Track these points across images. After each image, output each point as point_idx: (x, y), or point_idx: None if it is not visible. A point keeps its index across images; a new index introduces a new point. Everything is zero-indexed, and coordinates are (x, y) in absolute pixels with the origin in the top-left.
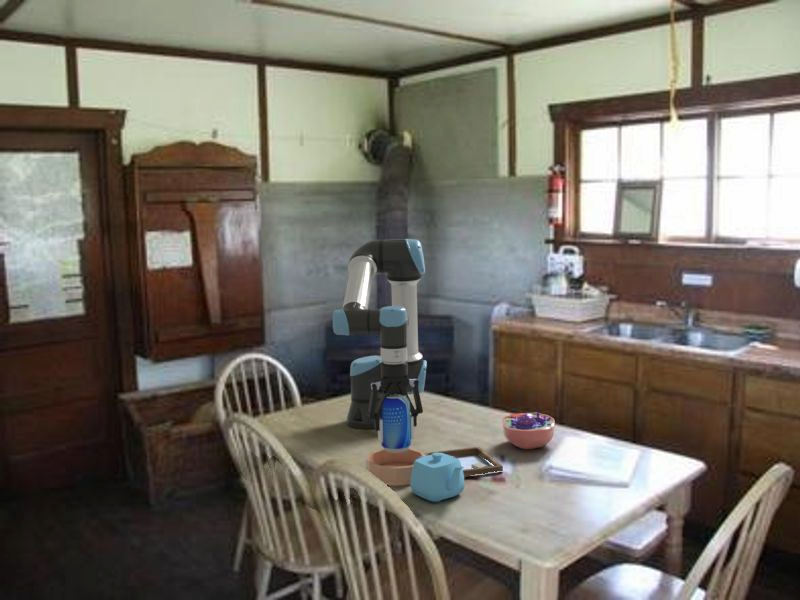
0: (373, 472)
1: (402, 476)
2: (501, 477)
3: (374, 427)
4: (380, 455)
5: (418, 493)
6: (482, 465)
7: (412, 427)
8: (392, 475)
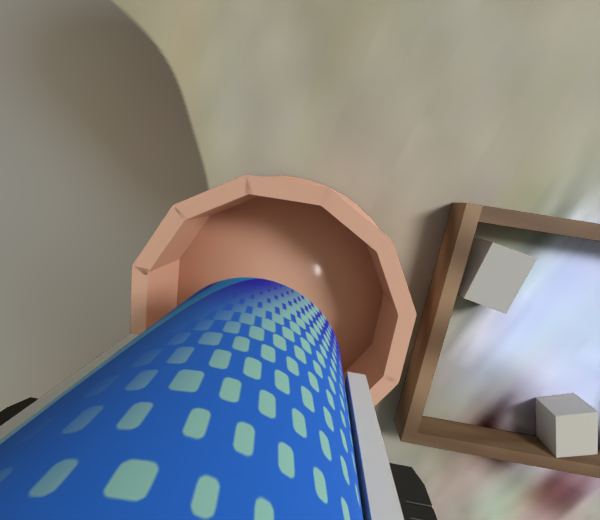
0: None
1: None
2: (580, 487)
3: (2, 414)
4: (237, 201)
5: None
6: (583, 444)
7: None
8: None
